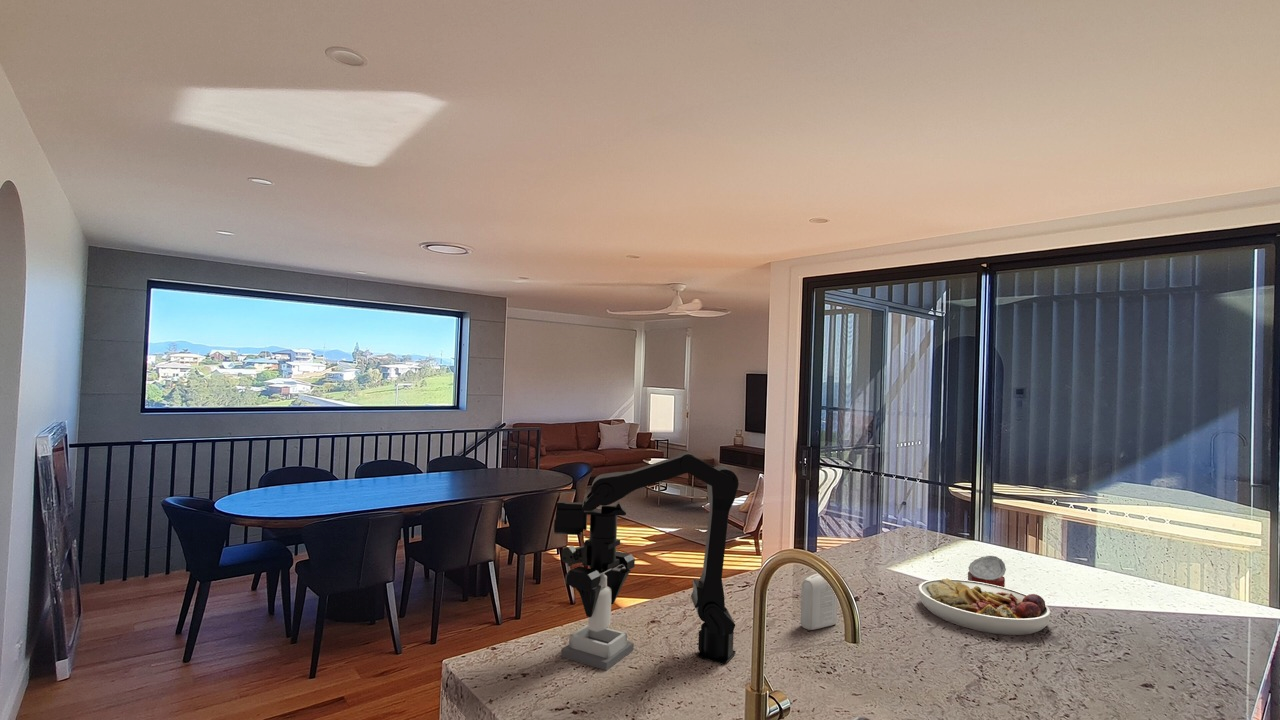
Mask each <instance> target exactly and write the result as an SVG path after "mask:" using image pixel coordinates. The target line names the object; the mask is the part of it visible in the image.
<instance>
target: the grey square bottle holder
mask: <svg viewBox="0 0 1280 720" xmlns="http://www.w3.org/2000/svg"><path fill="white" fill-rule="evenodd" d="M568 638H569V639H568V644H567V645H566V646H564V647H563V648H561V649H560V650H561V651H560V657H562V658H563V659H566V660H567V659H568V660H571V661H574V662H577V663H580V664H584V665H587V666H591V667H593V668H597V669H600V670H604V671H608V670H609V669H610V668H612V667H613V666H614V665H616V664H617V663H619V662H620V661H622V660H623V659H624V658H625V657H626V656H628V655H629V654H630V653H632V652H634V648H635V647H634V642H630V641H628V632H624V631H621V630H616V629H613V628H609V627H608V628H606V629H604V630H602V631H598V632H595V631H592V630H589V629H588V623H586V625H584V626H582V627H581V628H579V629H577V630H574V632H572V633H569V636H568Z"/></svg>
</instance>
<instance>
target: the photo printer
mask: <svg viewBox="0 0 1280 720" xmlns="http://www.w3.org/2000/svg"><path fill="white" fill-rule="evenodd" d="M801 583H802V584H801V591H800V593H801V594H800V595H801V597H800V598H801V599H800V625H801V627H802V628H804V629H805V630H807V631H808V630H809V631H812V630H818V629H822V628H826V627H830V626H833V625H836V624H837V623H838V606H839V605H838V603H839V602H838V600H839V599H838V600H837V598H836V596H835V594H834V592H833V590H832V589H831V587H830V586H829V585H828V583H827V582H826V581H825V580H824V579H823V578H822V577H821V576H820V575H819V574H818V573H814V574H812V575H810V576H808V577H806V578H805V579H804V580H802V582H801Z"/></svg>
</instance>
